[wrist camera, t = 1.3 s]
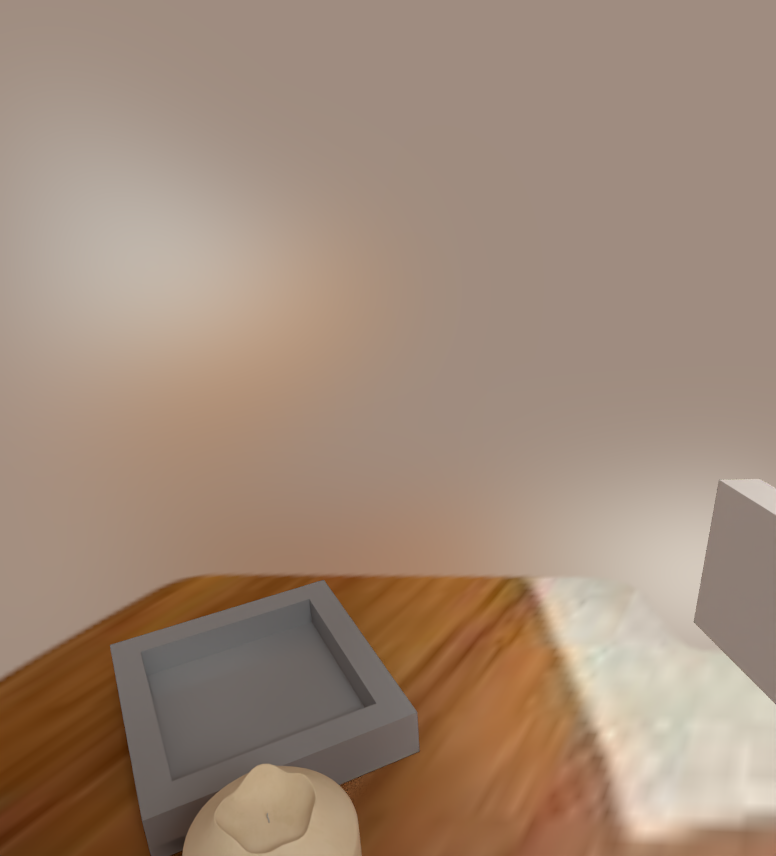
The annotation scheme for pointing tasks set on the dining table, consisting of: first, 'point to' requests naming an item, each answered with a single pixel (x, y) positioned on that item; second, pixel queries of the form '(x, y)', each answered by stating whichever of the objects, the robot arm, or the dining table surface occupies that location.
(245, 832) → the candle
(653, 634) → the dining table surface
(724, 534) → the robot arm
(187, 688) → the charcoal dish
